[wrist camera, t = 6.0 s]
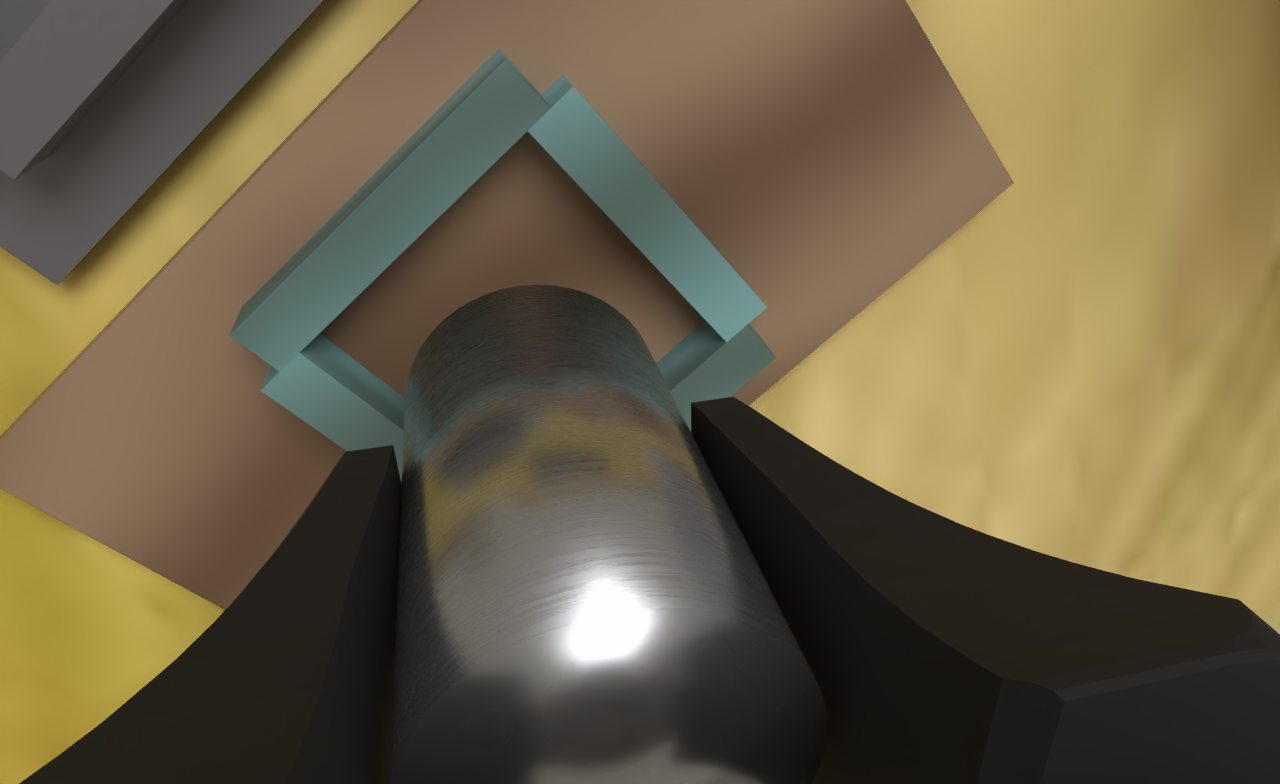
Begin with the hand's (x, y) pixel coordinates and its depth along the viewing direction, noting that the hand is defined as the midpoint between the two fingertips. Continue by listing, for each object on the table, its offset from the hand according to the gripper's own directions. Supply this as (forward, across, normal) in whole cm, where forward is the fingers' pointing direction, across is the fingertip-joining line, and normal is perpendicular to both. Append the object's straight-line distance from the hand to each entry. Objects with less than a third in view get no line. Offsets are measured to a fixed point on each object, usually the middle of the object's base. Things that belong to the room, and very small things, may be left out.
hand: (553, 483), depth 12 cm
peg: (+2, 0, 0) cm, 2 cm away
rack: (+6, 0, 0) cm, 6 cm away
